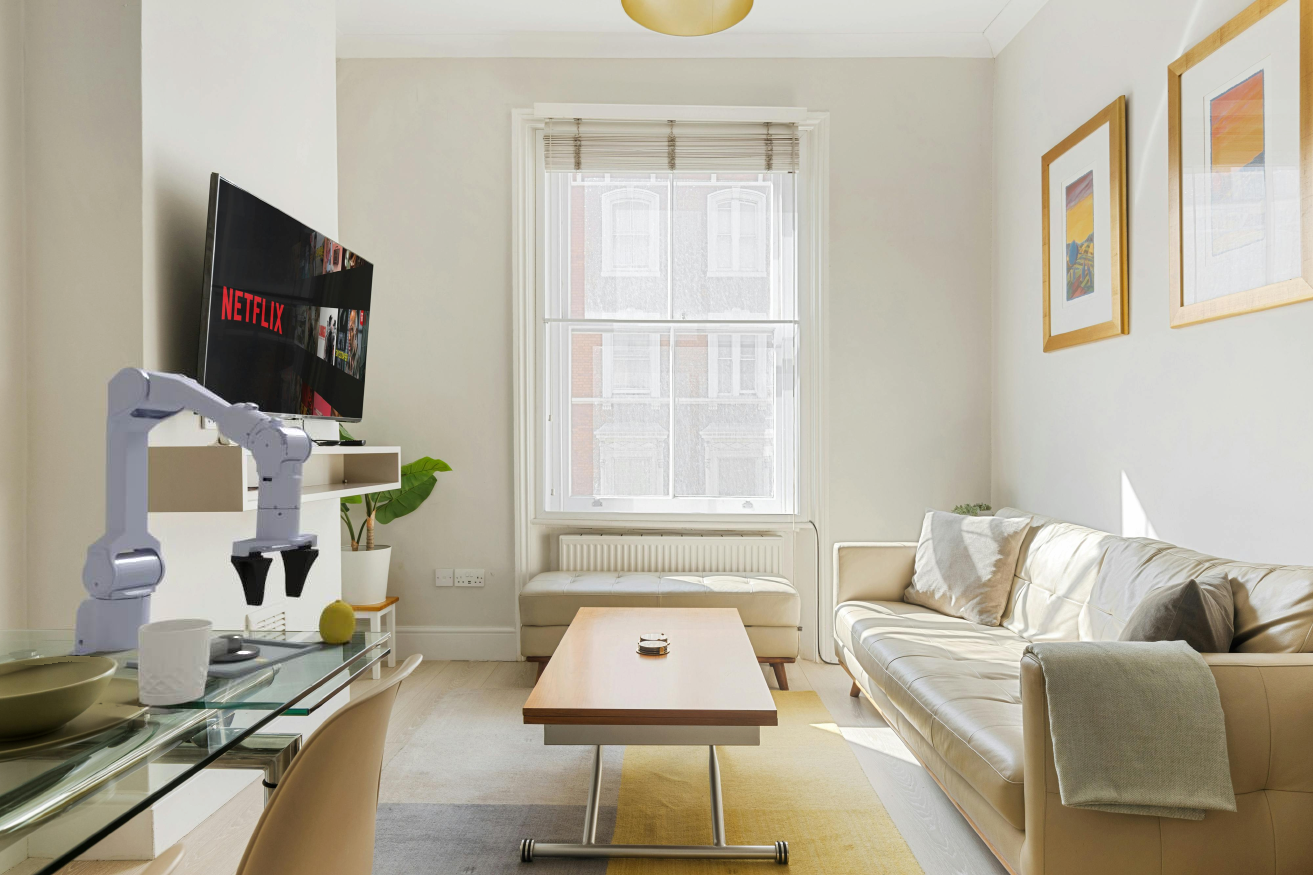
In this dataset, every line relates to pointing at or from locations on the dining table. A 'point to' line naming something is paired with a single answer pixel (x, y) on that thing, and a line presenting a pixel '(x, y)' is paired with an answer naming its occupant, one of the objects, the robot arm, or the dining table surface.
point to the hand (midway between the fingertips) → (274, 600)
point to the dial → (231, 649)
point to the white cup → (173, 662)
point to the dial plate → (257, 657)
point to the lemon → (337, 623)
